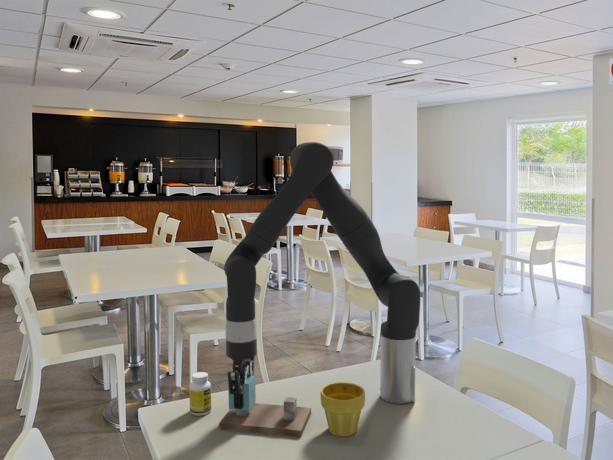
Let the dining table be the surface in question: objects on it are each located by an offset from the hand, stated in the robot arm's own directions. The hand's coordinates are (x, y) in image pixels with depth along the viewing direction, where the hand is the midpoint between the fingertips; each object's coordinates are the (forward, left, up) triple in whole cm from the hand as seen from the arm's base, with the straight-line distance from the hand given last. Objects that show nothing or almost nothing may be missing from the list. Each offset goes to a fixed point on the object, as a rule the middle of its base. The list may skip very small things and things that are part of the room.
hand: (242, 402), depth 133 cm
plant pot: (-25, +1, -4) cm, 26 cm away
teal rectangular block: (0, 0, -1) cm, 1 cm away
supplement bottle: (+12, -2, -4) cm, 13 cm away
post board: (-6, 0, -4) cm, 7 cm away
